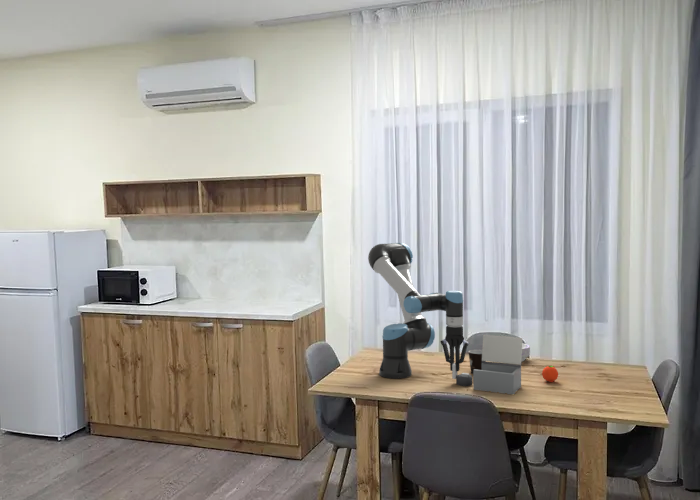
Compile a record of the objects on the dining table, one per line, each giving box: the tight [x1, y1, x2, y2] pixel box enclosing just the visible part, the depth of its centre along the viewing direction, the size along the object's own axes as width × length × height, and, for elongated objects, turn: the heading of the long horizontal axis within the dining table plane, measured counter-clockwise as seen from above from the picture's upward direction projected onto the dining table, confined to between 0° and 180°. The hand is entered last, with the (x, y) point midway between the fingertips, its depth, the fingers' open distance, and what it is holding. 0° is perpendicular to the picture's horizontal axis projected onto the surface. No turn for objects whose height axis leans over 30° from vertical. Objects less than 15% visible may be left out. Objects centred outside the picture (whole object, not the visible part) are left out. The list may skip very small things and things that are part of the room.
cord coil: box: [455, 372, 473, 387], centre depth 275 cm, size 7×7×5 cm
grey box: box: [472, 361, 522, 395], centre depth 268 cm, size 17×13×10 cm
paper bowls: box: [521, 342, 531, 363], centre depth 318 cm, size 15×15×8 cm
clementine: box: [541, 365, 559, 383], centre depth 277 cm, size 8×7×7 cm
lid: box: [481, 334, 523, 366], centre depth 274 cm, size 17×12×2 cm
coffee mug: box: [468, 349, 482, 374], centre depth 295 cm, size 12×9×10 cm
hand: (454, 378), depth 277 cm, fingers closed
